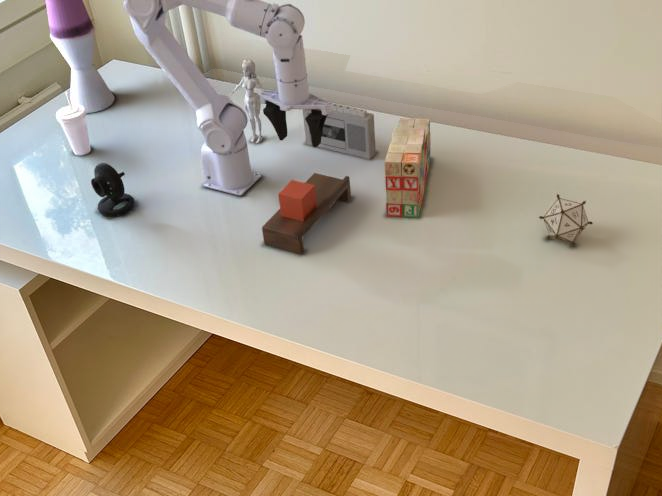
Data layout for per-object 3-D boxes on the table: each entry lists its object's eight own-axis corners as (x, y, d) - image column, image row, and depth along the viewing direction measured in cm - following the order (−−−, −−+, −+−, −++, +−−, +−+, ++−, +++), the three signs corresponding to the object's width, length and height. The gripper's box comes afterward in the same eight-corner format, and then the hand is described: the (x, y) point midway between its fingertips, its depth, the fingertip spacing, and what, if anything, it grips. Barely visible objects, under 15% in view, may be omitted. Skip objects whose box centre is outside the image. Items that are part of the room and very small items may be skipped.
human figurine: (231, 137, 195) (218, 60, 183) (240, 129, 197) (228, 52, 185) (276, 148, 190) (266, 69, 178) (285, 140, 192) (276, 61, 180)
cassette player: (306, 144, 190) (301, 101, 183) (312, 138, 192) (308, 95, 185) (369, 158, 184) (367, 115, 177) (375, 152, 185) (373, 109, 178)
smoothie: (102, 147, 197) (85, 89, 187) (83, 161, 193) (64, 102, 183) (82, 141, 200) (64, 83, 190) (62, 154, 196) (43, 96, 186)
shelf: (264, 244, 165) (260, 222, 162) (316, 189, 177) (313, 168, 174) (300, 254, 162) (298, 232, 158) (351, 198, 174) (349, 176, 170)
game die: (561, 261, 160) (553, 244, 151) (535, 226, 163) (526, 207, 154) (604, 232, 158) (598, 213, 149) (577, 197, 161) (570, 176, 152)
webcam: (90, 209, 179) (77, 166, 172) (119, 192, 182) (107, 150, 175) (113, 222, 175) (101, 179, 168) (142, 205, 178) (131, 162, 171)
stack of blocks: (400, 157, 183) (399, 103, 175) (430, 158, 182) (431, 104, 173) (386, 216, 168) (384, 160, 160) (418, 218, 167) (418, 161, 158)
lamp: (63, 113, 210) (9, -62, 182) (79, 91, 218) (29, -80, 190) (105, 113, 208) (57, -64, 181) (120, 92, 216) (76, -81, 188)
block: (281, 216, 164) (277, 193, 161) (294, 202, 167) (291, 179, 164) (303, 222, 162) (301, 199, 159) (317, 207, 165) (314, 185, 162)
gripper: (247, 79, 162) (258, 144, 172) (315, 91, 156) (322, 158, 166) (267, 63, 166) (276, 127, 176) (333, 73, 160) (340, 140, 170)
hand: (300, 141), depth 171 cm, fingers open, 7 cm apart
